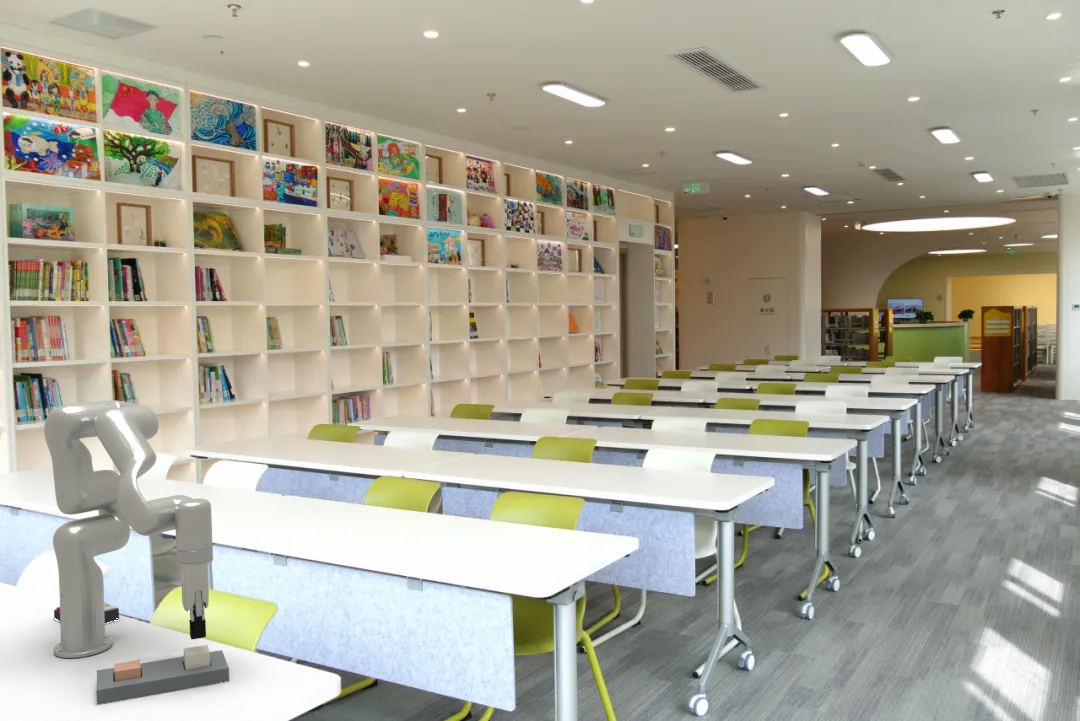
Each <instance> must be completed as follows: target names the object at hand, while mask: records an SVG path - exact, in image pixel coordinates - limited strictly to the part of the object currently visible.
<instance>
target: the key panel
mask: <svg viewBox="0 0 1080 721" xmlns="http://www.w3.org/2000/svg"><path fill="white" fill-rule="evenodd" d="M140 666H141V677H140V678H134V679H128V680H122V681H117V682H115V666H114V667H110V668H103V669H97V670H96V705H97V704H98V705H102V704H101V703H104V704H108V703H107V702H109V703H115V702H120V700H121V701H125V700H131V698H132V699H137V698H143V697H148V696H152V695H154V696H155V695H160V694H164V693H171V692H177V691H182V690H188V689H193V688H199V687H203V686H204V687H206V686H211V685H215V684H216V683H217V684H221V683H220V682H222V683H226V682H225V681H228V682H230V667H229V665H228V662H227V660H226V658H225V655H224V650H222V649H221V650H214V651H210V666H206V667H200V668H194V669H188V670H185V668H184V655H183V656H178V657H171V658H164V659H160V660H153V661H147V662H140ZM114 701H115V702H114Z"/></svg>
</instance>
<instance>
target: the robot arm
mask: <svg viewBox="0 0 1080 721" xmlns="http://www.w3.org/2000/svg"><path fill="white" fill-rule="evenodd" d="M159 426H160V424H159V419H158V416H157V414H156V413H155V411H154V410H152V408H150V407H148V406H146V405H144V404H138V403H133V402H129V401H128V402H127V401H122V400H114V399H113V400H99V401H86V402H75V403H70V404H69V403H68V404H65V405H60V406H58V407H56V408H54V409H52V410H51V411H50V412H49V413H48V414H47V416H46V418H45V421H44V427H43V432H44V439H45V442H46V446H47V448H48V451H49V455H50V457H51V461H52V462H51V464H52V474H53V483H54V484H53V485H54V494H55V495H54V496H55V501H56V505H57V508H58V510H59V511H60V512H61V513H62V514H64V515H79V514H85V513H90V512H94V511H98V515H94V516H88V517H83V518H79V519H73V520H72V521H68V522H65V523H63V524H62V525H60V526H59V527H58V528H57V529H56V530H55V532H54V534H53V537H52V544H53V551H54V555H55V559H56V564H57V569H58V570H57V571H58V587H59V588H58V589H59V590H58V591H59V607H60V622H59V623H60V626H59V627H60V642H59V643H58V644H56V645H55V646H54V648H53V654H54V656H56V657H59V658H62V659H63V658H64V659H74V658H75V659H76V658H77V659H78V658H85V657H90V656H94V655H96V654H97V655H98V654H101V653H102V652H105V651H107V650H108V649H110V648H111V647H112V645H113V639H112V637H109V636H107V635H106V629H105V628H106V626H105V625H106V624H105V617H104V602H105V590H104V588H105V587H104V586H105V584H104V574H103V570H102V569H101V567H100V565H98V563H97V562H96V561H95V559H94V558H95V557H97V556H100V555H104V554H108V553H111V552H115V551H118V550H121V549H122V548H124V547H125V546H126V545H127V543H129V539H130V537H131V536H130V535H131V530H133V531H134V532H135V533H137V534H138V535H141V536H143V537H144V536H145V537H149V536H154V535H157V534H161V533H166V532H170V531H174V530H175V546H176V547H175V548H176V550H175V552H176V553H175V554H176V565H177V566H180V567H181V603H182V606H183V610H184V611H186V612H189V622H188V623H189V637H190V639H191V640H196V639H203V638H204V639H205V638H206V637H207V626H206V625H207V624H206V623H207V622H206V621H207V620H206V618H205V616H206V615H205V609H207V608H208V607H209V593H210V592H209V591H210V590H209V587H210V586H209V583H210V582H209V564H210V563H212V562H213V561H214V550H213V549H214V547H213V522H212V521H213V520H212V505H211V502H210V501H209V500H208V499H206V498H192V497H190V496H186V495H183V494H176V495H170V496H167V497H160V498H156V499H151V500H146V499H145V497H144V496H143V494H142V493H141V491H140V489H139V486H138V482H137V480H138V479H140V478H141V477H142V476H143V475H145V474H146V473H147V472H149V471H150V470H151V469H152V468H153V466H154V465H155V464H156V462H157V454H156V452H155V451H154V449H153V448H152V446H151V445H150V443H149V442H148V440H150V439H152V438H153V437H155V436H156V434H158V431H159ZM95 437H97V438H98V440H99V441H100V443H101V445H102V446H103V448H104V450H105V452H106V453H107V454H108V456H109V458H110V459H111V461H112V462H113V465H114V466H115V467H116V469H117V470H118V472H119V473H118V472H116V471H114V470H111V469H101V470H95V471H94V468H93V467H94V466H93V457H92V454H91V452H90V450H89V448H88V447H87V446H86V444H85V443H84V442H83V441H82V440H80V439H86V438H95Z"/></svg>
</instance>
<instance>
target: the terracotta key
mask: <svg viewBox="0 0 1080 721" xmlns="http://www.w3.org/2000/svg"><path fill="white" fill-rule="evenodd" d="M140 663H141V660H140V659H136V660H130V661H125V662H123V661H121V662H116V663H114V667H115V682H117V681H122V680H128V679H134V678H140V677H141V666H140Z"/></svg>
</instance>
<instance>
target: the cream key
mask: <svg viewBox="0 0 1080 721" xmlns="http://www.w3.org/2000/svg"><path fill="white" fill-rule="evenodd" d="M210 652H211V651H210V649H209V645H208V644H204V645H196V646H192V647H191V646H190V647H185V648H183V656H184V668H185V670H188V669H194V668H200V667H206V666H210Z"/></svg>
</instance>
